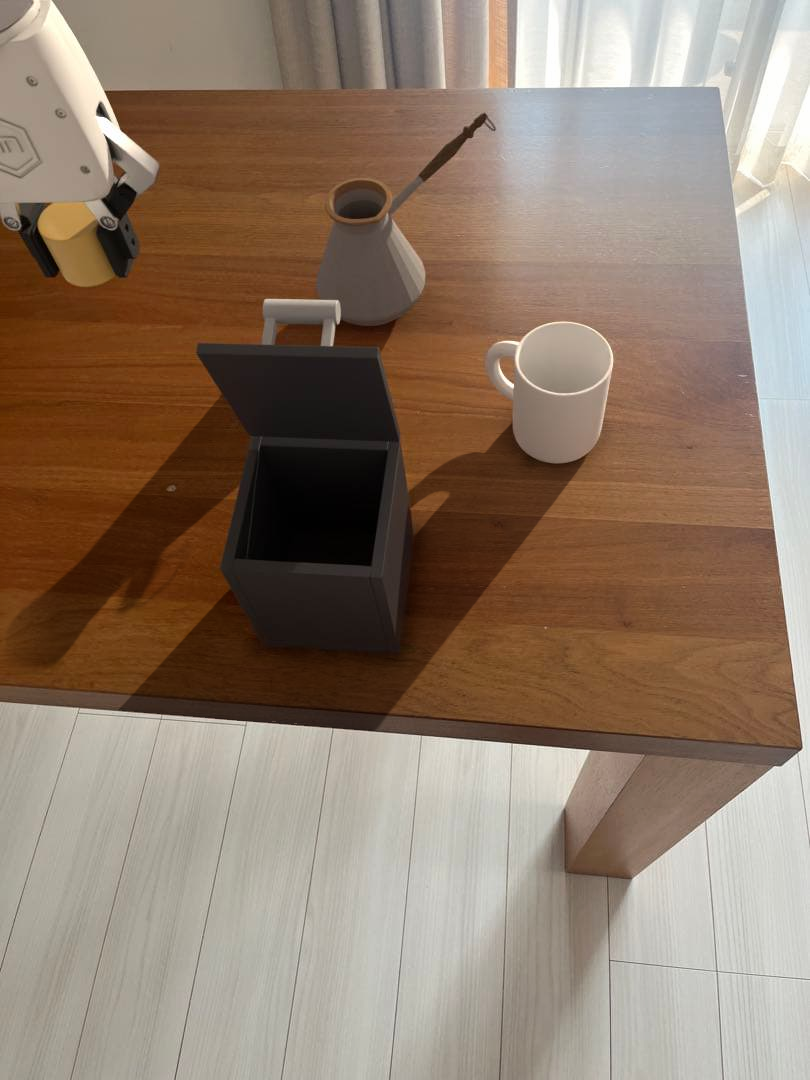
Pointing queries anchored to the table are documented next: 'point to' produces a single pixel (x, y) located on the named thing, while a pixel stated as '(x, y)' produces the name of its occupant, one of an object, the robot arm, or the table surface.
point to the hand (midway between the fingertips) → (91, 261)
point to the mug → (555, 388)
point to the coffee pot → (375, 246)
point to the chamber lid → (304, 380)
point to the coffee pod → (75, 243)
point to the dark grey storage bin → (322, 543)
